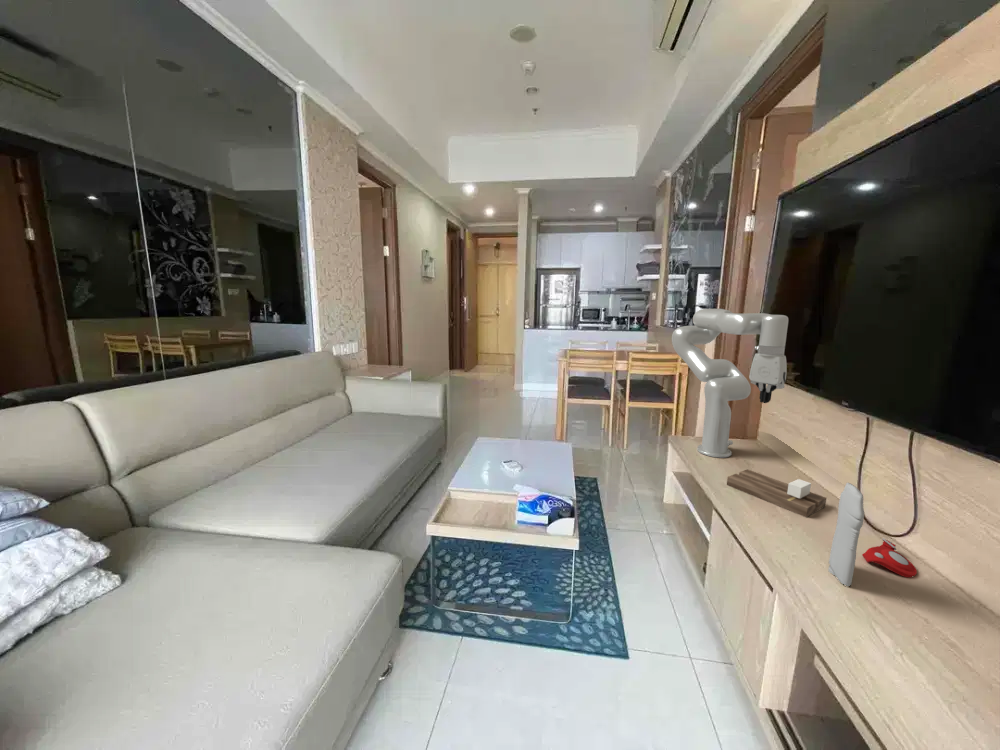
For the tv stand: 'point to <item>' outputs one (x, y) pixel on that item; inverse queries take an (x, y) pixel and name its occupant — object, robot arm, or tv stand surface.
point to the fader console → (775, 492)
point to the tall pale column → (846, 534)
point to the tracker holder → (890, 559)
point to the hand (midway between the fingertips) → (764, 402)
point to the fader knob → (799, 488)
